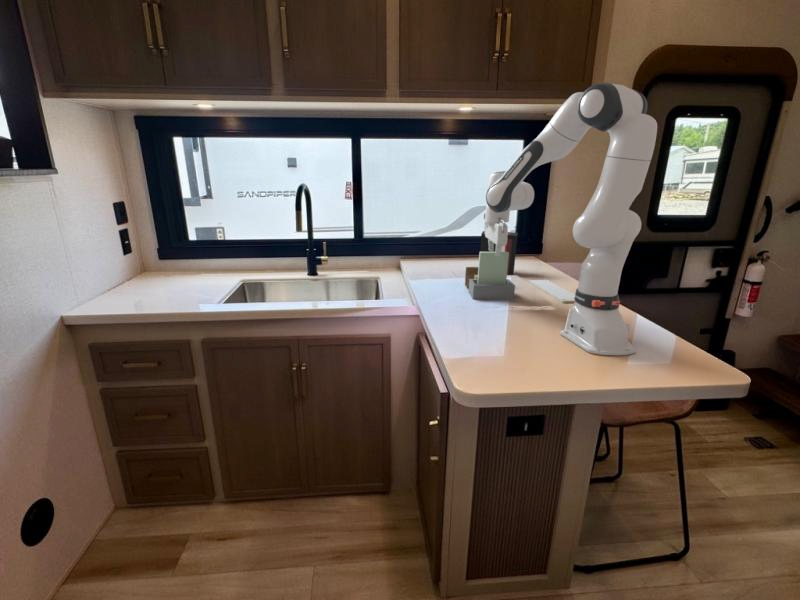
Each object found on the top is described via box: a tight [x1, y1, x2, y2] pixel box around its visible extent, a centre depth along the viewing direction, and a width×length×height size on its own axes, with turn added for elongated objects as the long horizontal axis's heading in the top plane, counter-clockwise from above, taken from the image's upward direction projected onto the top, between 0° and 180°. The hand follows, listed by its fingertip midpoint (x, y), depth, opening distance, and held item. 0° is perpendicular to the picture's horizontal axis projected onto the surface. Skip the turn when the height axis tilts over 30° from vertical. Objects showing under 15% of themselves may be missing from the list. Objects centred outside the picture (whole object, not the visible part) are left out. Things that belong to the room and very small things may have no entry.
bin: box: [467, 278, 516, 300], centre depth 163 cm, size 9×16×7 cm, turn 92°
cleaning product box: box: [479, 230, 519, 276], centre depth 201 cm, size 16×9×20 cm, turn 74°
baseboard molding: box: [528, 279, 575, 304], centre depth 175 cm, size 31×3×12 cm
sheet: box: [477, 251, 509, 285], centre depth 161 cm, size 2×11×18 cm, turn 92°
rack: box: [464, 266, 478, 292], centre depth 172 cm, size 10×15×10 cm, turn 92°
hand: (494, 253), depth 158 cm, fingers open, 8 cm apart
